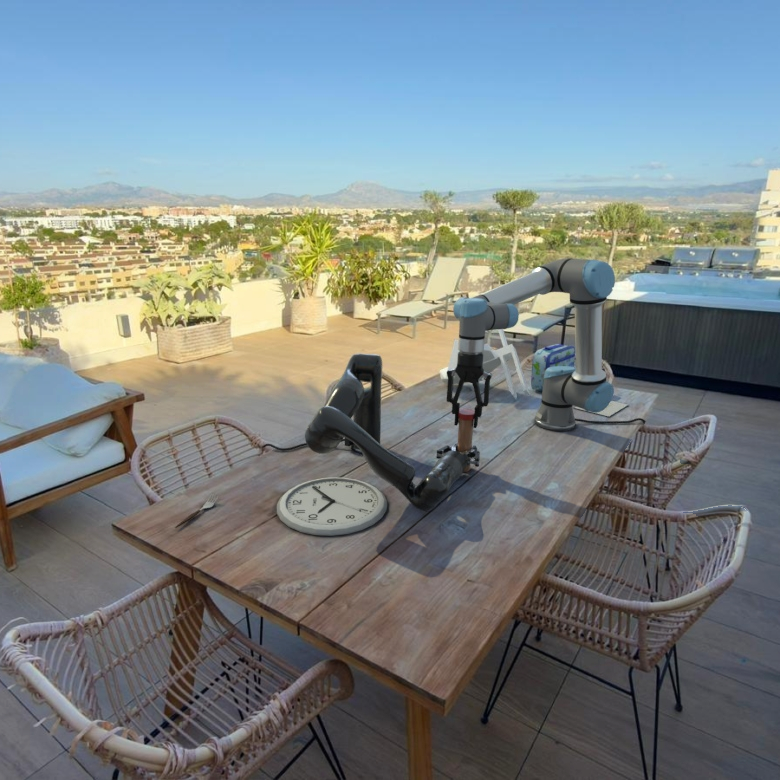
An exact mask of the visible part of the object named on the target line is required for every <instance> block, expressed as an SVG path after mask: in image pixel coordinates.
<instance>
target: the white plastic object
mask: <svg viewBox="0 0 780 780" xmlns="http://www.w3.org/2000/svg"><path fill="white" fill-rule="evenodd" d="M497 332H498V335H499V338H500V342H501V345H502V347H500V348H498V349H496V350H495V349H493V348H492V347H491V346H490V344H489V343H488V342H487V343H484V351H483V352H482V353H483V369H484V372H486V373H492V372H494V371H495V370H496V369H497V368H499V367H500V366H502V370H503V373H504V376H505V380H506V383H507V386H508V390H509V393H510V394H511V395H512V397H513V398H514V399H515V400H517V392H516V391H517V390H516V388H515V385H514V381H513V378H512V375H511V371H510V369H509V365H508V361H510V360H513V363H514V366H515V369H516V372H517V376H518V380H519V382H520V385H521V389H522V391H523V393H524V395H525V396H526V397H528V396H531V395H530V390H529V388H528V387H529V386H528V384H527V381H526V378H525V375H524V371H523V369H522V368H523V367H522V366H521V362H520V359H519V355H518V352H517V349H516V347H515V346H514V345H513V343H511V344H508V341H507V337H506V334H505V330H504V329H498V330H497ZM458 342H459V338H454V340H453V344H452V349H451V353H450V357H449V362H448V366H446V367H444V368H442V369H440V370H439V371H438V372H439V376H440V381H442V383H443V384H444V385H445V386H448V376H447V371H448V370H449V369H455V368H456V367H457V360H458V352H459V350H458ZM459 381H460V378H459V376H458V375H457V373H455V375H454V380H453V385H458V384H459ZM478 381H479V383H480V382H482V381H484V376H483V375H482V376H481V377H480V378H479V379H478ZM467 383H468V384H469V382H464V384H467Z"/></svg>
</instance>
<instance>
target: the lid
mask: <svg viewBox="0 0 780 780" xmlns="http://www.w3.org/2000/svg"><path fill="white" fill-rule="evenodd" d="M474 413H475V410H473V409H469V408H462V409H459V411H458V418H459V419H462V420H474Z"/></svg>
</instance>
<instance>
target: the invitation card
mask: <svg viewBox="0 0 780 780" xmlns="http://www.w3.org/2000/svg"><path fill="white" fill-rule="evenodd" d="M628 406H629V404H627V403H623V402H618V401H614V400H611V402H610V403H609V405H608V406H607V407H606V408H605V409H604V410H602V411H601V412H597V413H595V412H591V411H586V410H585V409H582V408H579V407H576V406H574V407H573V409H575V410H581V411H584V412H587V413H593V414H596V415H600V416H604V417H608V418H609V417H611V416H613V415H614V414H616V413H617V412H619V411H621V410H623V409H624V408H626V407H628Z"/></svg>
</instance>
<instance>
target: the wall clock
mask: <svg viewBox="0 0 780 780" xmlns="http://www.w3.org/2000/svg"><path fill="white" fill-rule="evenodd" d="M387 509H388V500H387V498H386V496H385V494H384V493H383V492H382V491H381V490H380V489H379V488H377V487H376V486H374V485H372V484H371V483H369V482H365V481H362V480H359V479H355V478H349V477H338V476H337V477H335V476H333V477H332V476H331V477H322V478H317V479H312V480H307V481H305V482H302V483H299V484H297V485H295V486H293V487H292V488H290V489H288V490H287V491H286V492H285V493H284V494H283V495H281V496H280V498H279V499H278V502H277V503H276V515H277V517H278V518H279V520H280V521H281V522H282V523H283V524H285V525H286V526H287V527H288V528H290V529H293V530H295V531H297V532H299V533H303V534H308V535H312V536H327V537H328V536H329V537H331V536H332V537H333V536H342V535H350V534H352V533H356V532H361V531H363V530H366V529H368V528H369V527H372V526H373V525H375V524H376V523H378V522H379V521H380V520H381V519H382V518H383V517H384V516H385V514H386V512H387Z"/></svg>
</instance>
